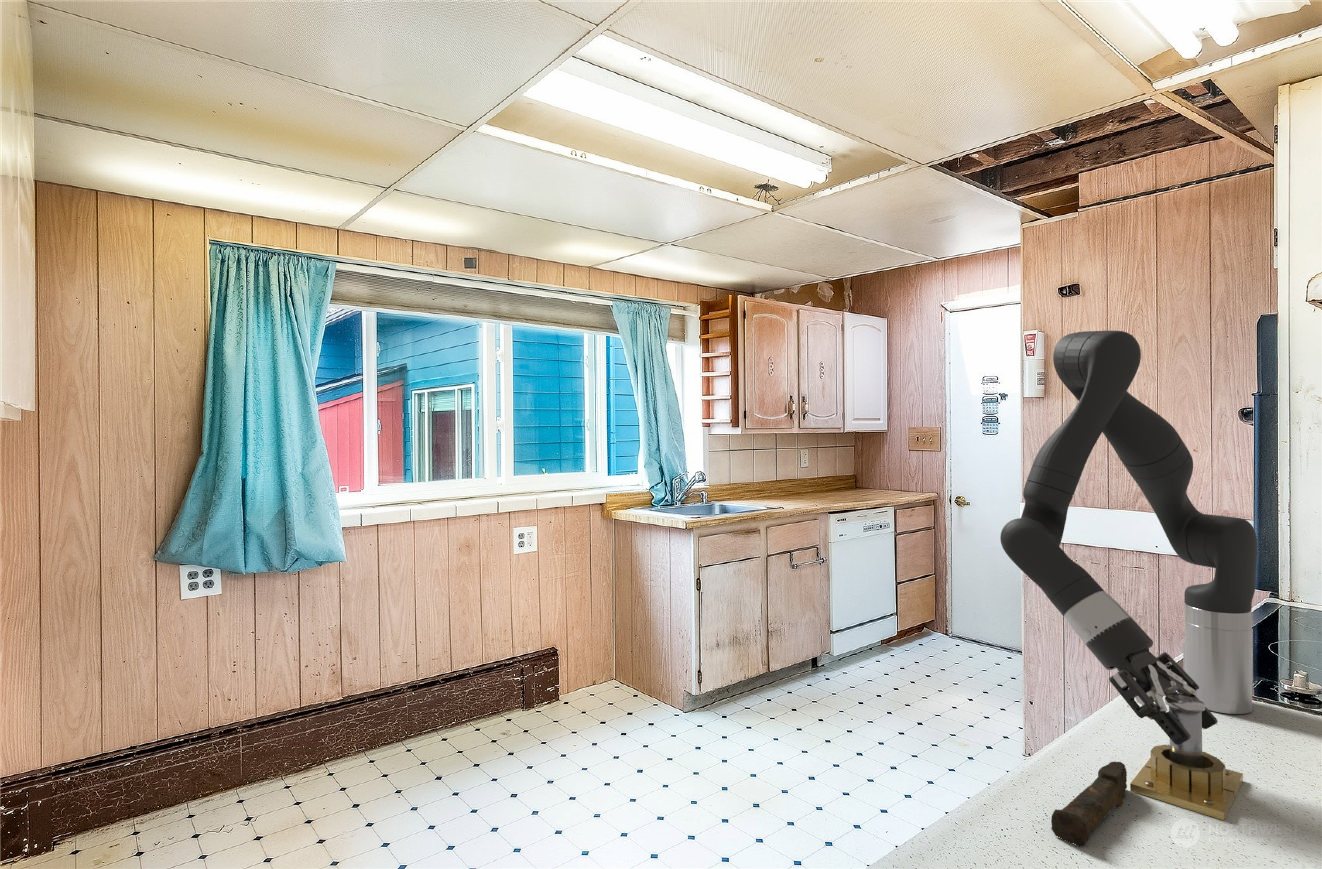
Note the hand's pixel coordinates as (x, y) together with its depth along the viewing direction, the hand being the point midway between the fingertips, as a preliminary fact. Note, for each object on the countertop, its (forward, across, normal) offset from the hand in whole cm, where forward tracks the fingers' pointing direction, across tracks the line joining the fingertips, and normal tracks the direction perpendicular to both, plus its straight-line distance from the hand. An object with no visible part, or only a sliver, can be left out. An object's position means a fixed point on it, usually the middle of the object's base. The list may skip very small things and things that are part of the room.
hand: (1198, 733), depth 95 cm
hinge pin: (+4, 0, +6) cm, 7 cm away
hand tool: (+2, -17, +10) cm, 20 cm away
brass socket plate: (+4, 0, +6) cm, 8 cm away
